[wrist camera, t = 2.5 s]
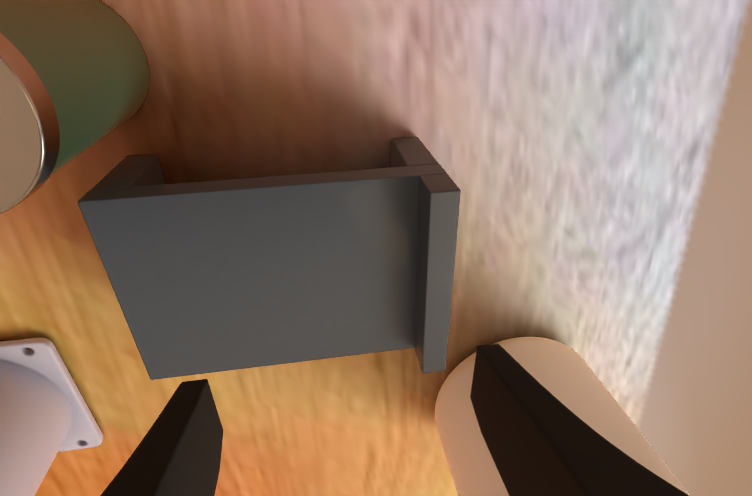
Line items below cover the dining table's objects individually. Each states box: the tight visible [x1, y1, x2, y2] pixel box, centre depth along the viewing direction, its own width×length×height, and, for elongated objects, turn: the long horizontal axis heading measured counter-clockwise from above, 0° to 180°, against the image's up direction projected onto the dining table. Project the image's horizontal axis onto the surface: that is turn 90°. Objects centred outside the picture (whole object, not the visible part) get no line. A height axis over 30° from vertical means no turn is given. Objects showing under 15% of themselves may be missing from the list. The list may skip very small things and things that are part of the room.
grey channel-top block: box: [78, 137, 460, 380], centre depth 18 cm, size 12×8×6 cm, turn 91°
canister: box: [0, 0, 149, 214], centre depth 12 cm, size 5×5×8 cm
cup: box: [435, 337, 690, 496], centre depth 24 cm, size 10×10×10 cm
